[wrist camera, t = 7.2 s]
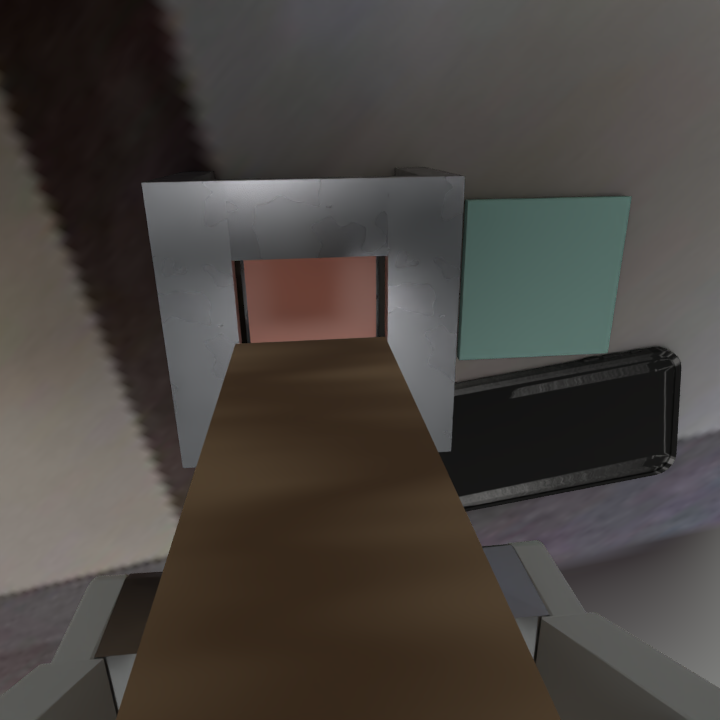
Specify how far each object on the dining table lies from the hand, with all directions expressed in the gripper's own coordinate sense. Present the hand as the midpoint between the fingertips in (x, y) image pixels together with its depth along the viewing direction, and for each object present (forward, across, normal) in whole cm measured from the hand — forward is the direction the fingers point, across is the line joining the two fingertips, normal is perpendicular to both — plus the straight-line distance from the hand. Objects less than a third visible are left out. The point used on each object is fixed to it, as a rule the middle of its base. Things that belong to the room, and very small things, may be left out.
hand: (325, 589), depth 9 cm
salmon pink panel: (+17, 0, 0) cm, 17 cm away
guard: (+20, 0, 0) cm, 20 cm away
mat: (+20, -12, 0) cm, 23 cm away
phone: (+21, -13, +8) cm, 26 cm away
